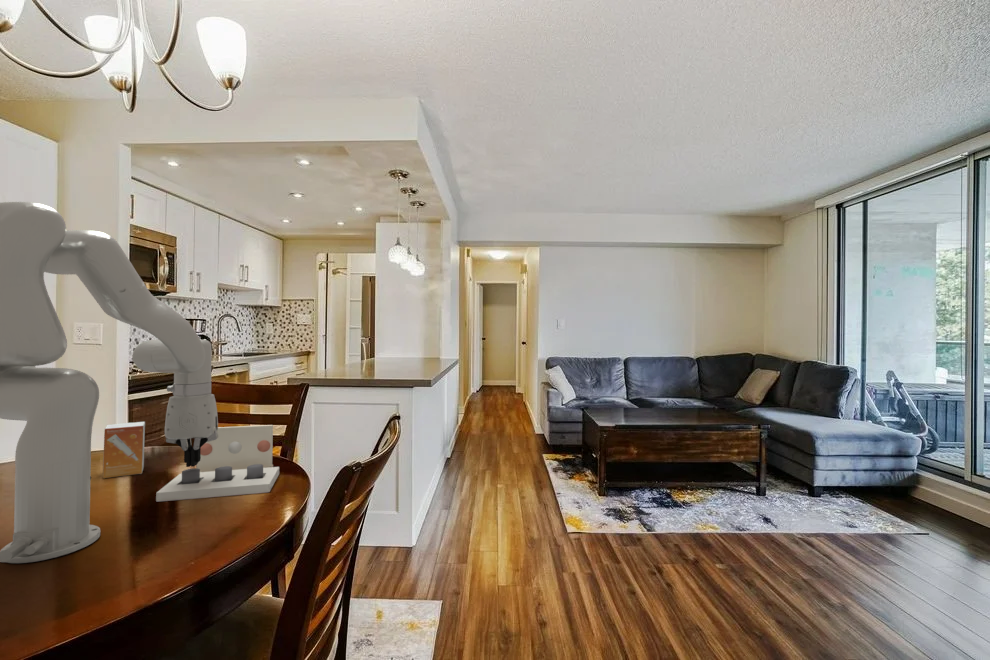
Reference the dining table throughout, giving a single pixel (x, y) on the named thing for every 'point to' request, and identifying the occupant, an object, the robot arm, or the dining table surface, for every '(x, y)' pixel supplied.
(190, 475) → the button
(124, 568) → the dining table surface
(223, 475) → the button
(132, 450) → the small box
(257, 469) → the button
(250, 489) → the button board
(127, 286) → the robot arm
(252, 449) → the pattern card
